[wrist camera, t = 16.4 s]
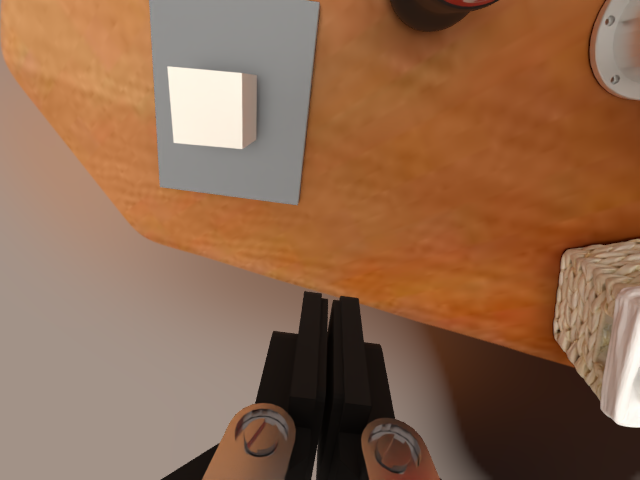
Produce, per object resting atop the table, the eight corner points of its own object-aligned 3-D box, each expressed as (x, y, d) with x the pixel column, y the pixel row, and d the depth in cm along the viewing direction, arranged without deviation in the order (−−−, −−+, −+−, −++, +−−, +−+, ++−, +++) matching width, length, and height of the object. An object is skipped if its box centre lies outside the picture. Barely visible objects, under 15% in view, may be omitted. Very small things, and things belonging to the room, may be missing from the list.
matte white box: (256, 75, 34) (241, 73, 28) (256, 139, 36) (242, 149, 31) (194, 69, 34) (167, 66, 28) (197, 134, 36) (173, 142, 31)
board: (320, 6, 35) (319, 2, 33) (299, 200, 43) (297, 205, 41) (157, -17, 34) (147, -23, 33) (167, 182, 42) (159, 186, 41)
